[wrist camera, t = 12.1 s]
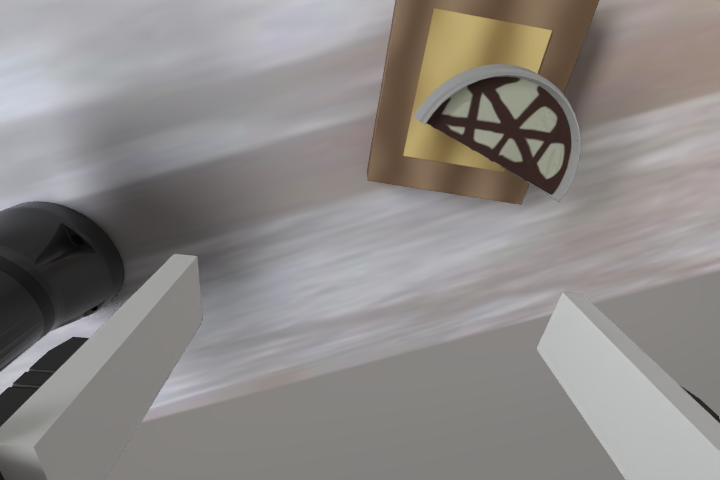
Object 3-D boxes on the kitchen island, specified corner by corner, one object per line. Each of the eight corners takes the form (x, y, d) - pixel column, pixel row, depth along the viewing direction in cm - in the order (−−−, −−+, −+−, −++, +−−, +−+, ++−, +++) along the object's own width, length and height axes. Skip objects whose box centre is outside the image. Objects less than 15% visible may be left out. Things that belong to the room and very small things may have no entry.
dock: (367, 170, 38) (367, 181, 34) (400, -30, 30) (405, -46, 26) (506, 192, 39) (522, 205, 35) (573, 3, 31) (603, -7, 27)
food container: (553, 111, 31) (631, 125, 22) (510, 170, 33) (564, 205, 24) (438, 38, 29) (473, 20, 20) (401, 107, 31) (416, 120, 22)
